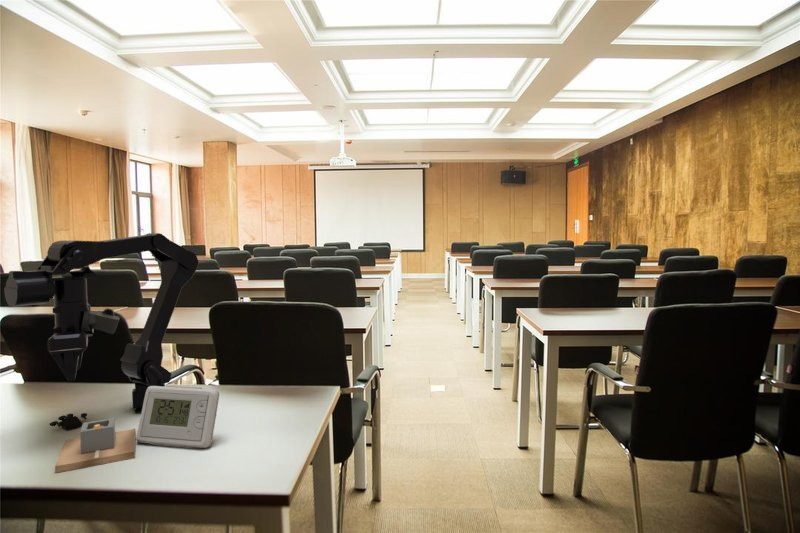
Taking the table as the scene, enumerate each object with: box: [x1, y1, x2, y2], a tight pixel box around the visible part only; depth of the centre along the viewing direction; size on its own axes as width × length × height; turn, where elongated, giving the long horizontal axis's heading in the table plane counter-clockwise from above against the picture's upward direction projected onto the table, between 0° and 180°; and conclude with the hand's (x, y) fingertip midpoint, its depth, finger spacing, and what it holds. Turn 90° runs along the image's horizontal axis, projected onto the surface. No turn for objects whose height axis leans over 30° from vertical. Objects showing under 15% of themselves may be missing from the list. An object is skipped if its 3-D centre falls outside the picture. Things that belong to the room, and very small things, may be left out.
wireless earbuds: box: [49, 412, 88, 431], centre depth 102 cm, size 7×2×5 cm
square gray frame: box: [79, 417, 116, 453], centre depth 90 cm, size 5×5×5 cm
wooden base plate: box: [54, 426, 137, 474], centre depth 90 cm, size 12×12×5 cm
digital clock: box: [136, 385, 220, 449], centre depth 95 cm, size 16×9×11 cm, turn 69°
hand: (74, 375), depth 99 cm, fingers open, 9 cm apart
